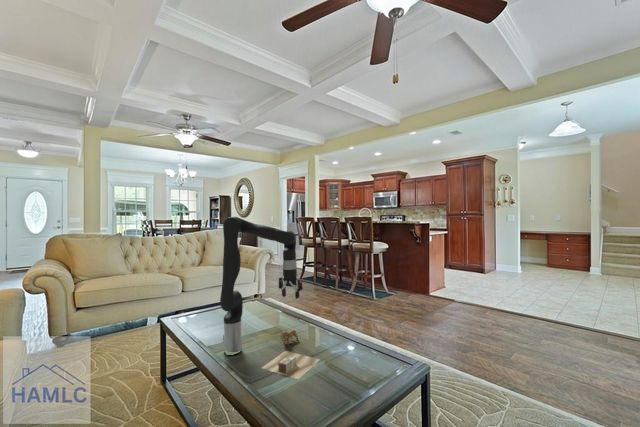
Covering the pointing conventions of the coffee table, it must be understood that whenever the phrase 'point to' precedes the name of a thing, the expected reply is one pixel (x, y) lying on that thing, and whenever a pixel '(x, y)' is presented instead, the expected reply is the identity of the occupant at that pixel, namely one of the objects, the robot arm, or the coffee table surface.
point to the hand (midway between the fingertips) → (290, 297)
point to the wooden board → (298, 370)
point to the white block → (287, 364)
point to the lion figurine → (288, 336)
